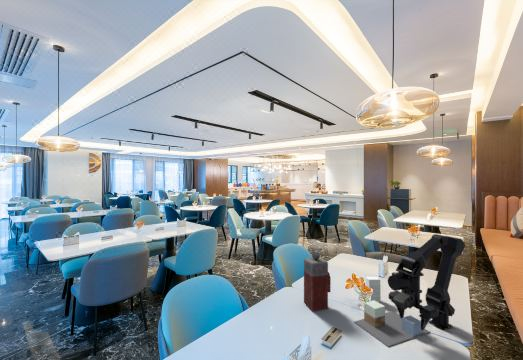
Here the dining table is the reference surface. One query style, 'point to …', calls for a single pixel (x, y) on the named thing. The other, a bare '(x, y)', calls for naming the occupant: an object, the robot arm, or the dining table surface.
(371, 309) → the tower mid
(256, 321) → the dining table surface
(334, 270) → the dining table surface
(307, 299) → the dark red bottle
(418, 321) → the cube
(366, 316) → the tower base
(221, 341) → the dining table surface
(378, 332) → the placemat
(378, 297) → the skincare box
